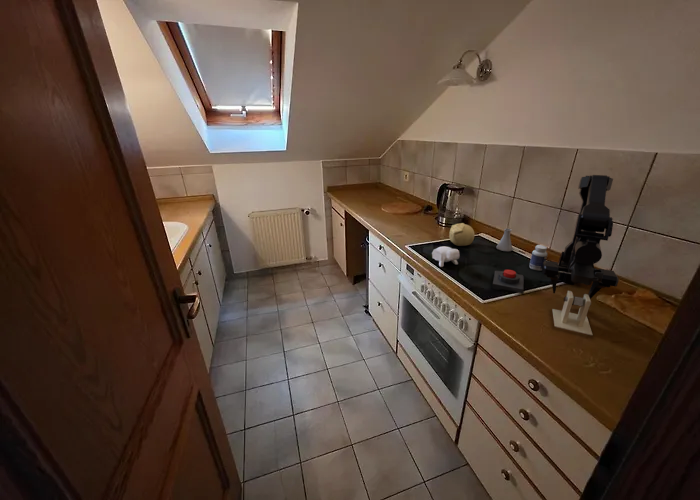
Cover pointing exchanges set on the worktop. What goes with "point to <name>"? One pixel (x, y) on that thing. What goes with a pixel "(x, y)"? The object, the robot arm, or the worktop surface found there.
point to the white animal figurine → (445, 255)
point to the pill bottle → (538, 257)
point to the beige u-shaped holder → (573, 316)
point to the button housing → (508, 282)
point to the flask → (505, 241)
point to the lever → (577, 301)
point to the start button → (509, 273)
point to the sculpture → (461, 234)
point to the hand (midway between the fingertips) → (570, 296)
